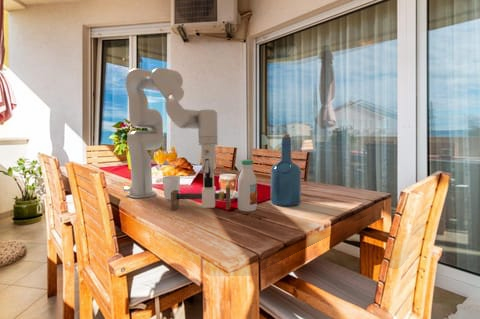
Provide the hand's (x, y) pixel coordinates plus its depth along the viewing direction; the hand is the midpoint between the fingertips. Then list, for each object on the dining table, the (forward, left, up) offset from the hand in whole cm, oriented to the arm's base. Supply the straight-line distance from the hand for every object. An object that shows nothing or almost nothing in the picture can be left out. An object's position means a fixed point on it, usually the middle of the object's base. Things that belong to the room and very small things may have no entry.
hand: (208, 186), depth 109 cm
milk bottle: (+16, -2, -9) cm, 18 cm away
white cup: (-19, +17, -9) cm, 27 cm away
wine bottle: (+33, +7, -9) cm, 35 cm away
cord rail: (-3, 0, -9) cm, 10 cm away
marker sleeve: (0, 0, -9) cm, 9 cm away
